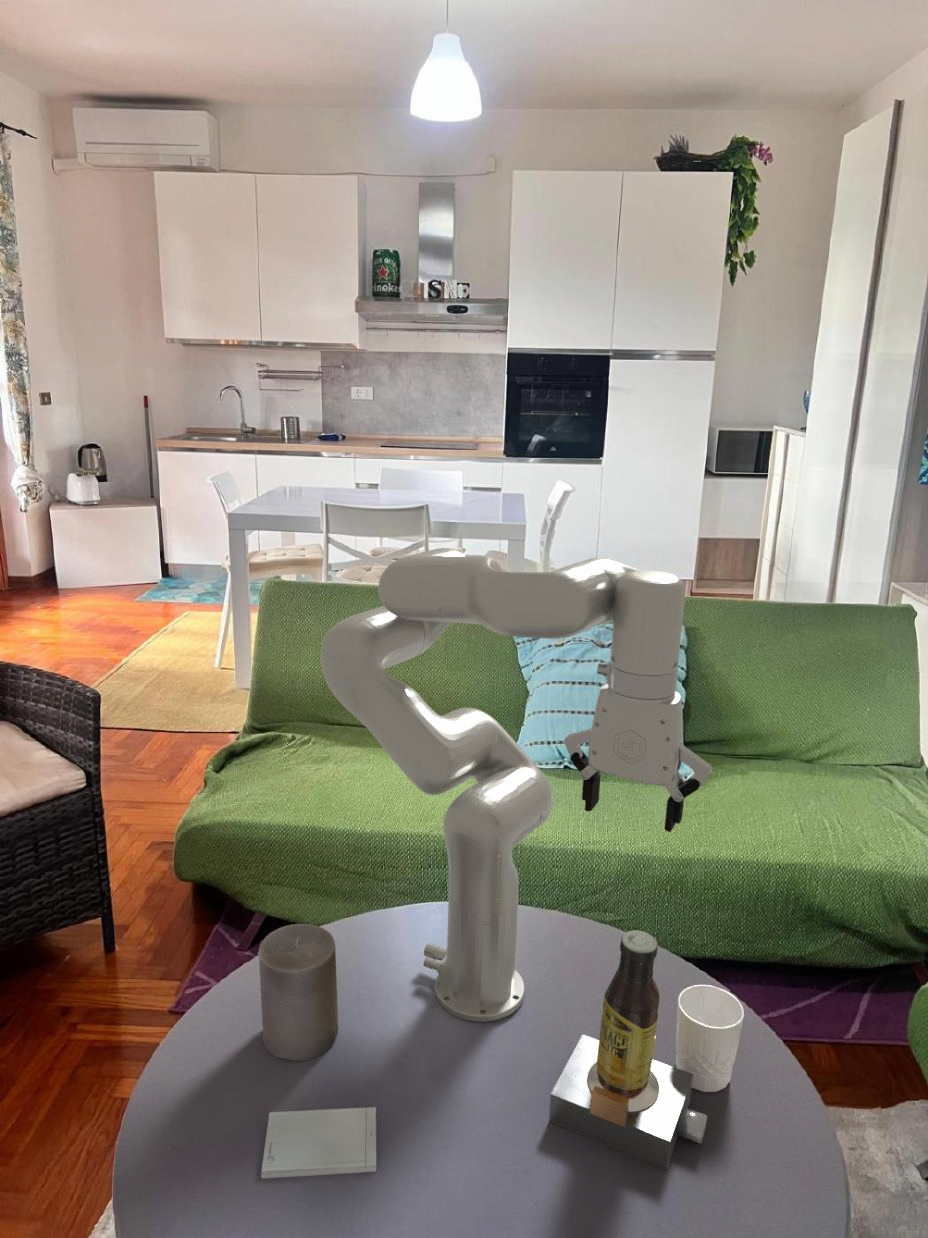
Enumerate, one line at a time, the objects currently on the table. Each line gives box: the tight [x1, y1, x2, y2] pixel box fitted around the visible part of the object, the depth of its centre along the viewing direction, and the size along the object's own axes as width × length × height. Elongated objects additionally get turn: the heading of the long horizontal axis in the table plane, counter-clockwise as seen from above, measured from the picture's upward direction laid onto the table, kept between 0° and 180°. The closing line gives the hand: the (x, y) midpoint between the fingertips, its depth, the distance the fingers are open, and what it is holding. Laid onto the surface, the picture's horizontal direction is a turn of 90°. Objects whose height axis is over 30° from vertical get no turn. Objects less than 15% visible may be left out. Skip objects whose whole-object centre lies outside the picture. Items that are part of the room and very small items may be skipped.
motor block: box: [548, 1034, 708, 1171], centre depth 107 cm, size 17×12×7 cm
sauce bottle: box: [597, 929, 661, 1097], centre depth 104 cm, size 7×6×20 cm
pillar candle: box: [257, 923, 339, 1062], centre depth 117 cm, size 10×10×15 cm
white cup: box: [675, 984, 745, 1093], centre depth 113 cm, size 8×8×10 cm
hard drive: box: [260, 1106, 377, 1179], centre depth 103 cm, size 2×8×12 cm
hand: (630, 816), depth 107 cm, fingers open, 9 cm apart
